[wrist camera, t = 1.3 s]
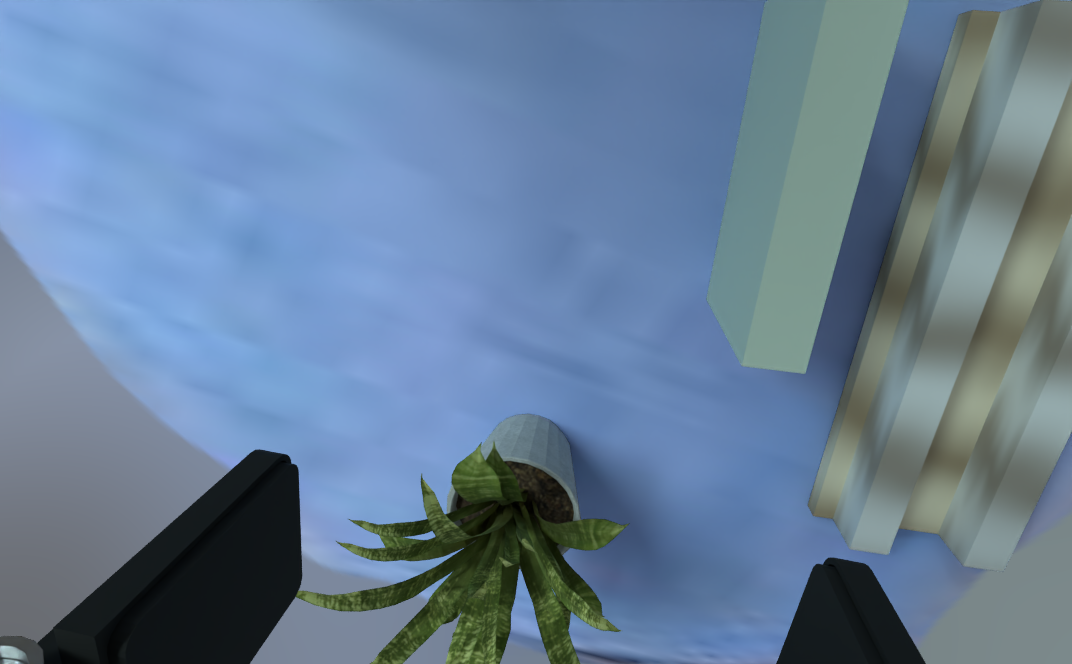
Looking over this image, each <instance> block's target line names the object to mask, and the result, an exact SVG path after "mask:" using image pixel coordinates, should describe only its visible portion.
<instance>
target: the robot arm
mask: <svg viewBox="0 0 1072 664" xmlns="http://www.w3.org/2000/svg"><path fill="white" fill-rule="evenodd" d="M301 580H302V556H301V527H300V499H299V472H298V467H297V465H295V464H291V459H290V457H289V456H288V455H286V454H281V453H275V452H270V451H265V450H254V451H253V452H251V453H250V454H249V455H248V456H247V457H245V458H244V459H243V460H242V461H241V462H240V463H239V464H237V465H236V466H235V467H234V468H233V469H232V470H231V471H230V472H228V473H227V474H226V475H225V476H224V477H223V478H222V479H221V480H219V481H218V482H217V483H216V484H215V485H214V486H213V487H212V488H210V489H209V490H208V491H207V492H206V493H205V494H204V495H203V496H201V497H200V498H199V499H198V500H197V501H196V502H195V503H193V504H192V505H191V506H190V507H189V508H188V509H187V510H186V511H184V512H183V513H182V514H181V515H180V516H179V517H178V518H176V519H175V520H174V521H173V522H172V523H171V524H170V525H169V526H168V527H166V528H165V529H164V530H163V531H162V532H161V533H160V534H158V535H157V536H156V537H155V538H154V539H153V540H152V541H151V542H150V543H148V544H147V545H146V546H145V547H144V548H143V549H142V550H140V551H139V552H138V553H137V554H136V555H135V556H134V557H132V558H131V559H130V560H129V561H128V562H127V563H126V564H124V565H123V566H122V567H121V568H120V569H119V570H118V571H117V572H115V573H114V574H113V575H112V576H111V577H110V578H109V579H108V580H107V581H106V582H104V583H103V584H102V585H101V586H100V587H99V588H97V589H96V590H95V591H94V592H93V593H92V594H91V595H90V596H88V597H87V598H86V599H85V600H84V601H83V602H82V603H80V605H78V606H77V607H76V608H75V609H74V610H73V611H71V612H70V613H69V614H68V615H67V616H66V617H65V618H63V619H62V620H61V621H60V622H59V623H58V624H57V625H56V626H55V627H53V629H52V630H51V631H50V632H49V633H48V634H47V635H46V636H45V637H44V638H42V639H41V640H40V641H39V642H38V643H36V641H34V640H31V639H28V638H25V637H22V636H1V637H0V664H250V662H251V661H252V659H253V658H254V656H255V655H256V654H257V652H258V651H259V649H260V648H261V646H262V645H263V643H264V642H265V640H266V639H267V638H268V636H269V634H270V633H271V632H272V630H273V629H274V627H275V626H276V624H277V623H278V621H279V620H280V618H281V617H282V616H283V614H284V613H285V611H286V610H287V608H288V607H289V605H290V604H291V602H292V601H293V600H294V598H295V596H296V595H297V593H298V590H299V588H300V585H301ZM776 664H926V663H925V661H924V660H923V658H922V657H921V655H920V653H919V651H918V649H917V648H916V646H915V644H914V642H913V641H912V639H911V637H910V636H909V634H908V632H907V630H906V629H905V627H904V625H903V623H902V622H901V620H900V618H899V617H898V615H897V613H896V611H895V610H894V608H893V606H892V604H891V603H890V601H889V599H888V597H887V596H886V594H885V592H884V591H883V589H882V587H881V585H880V584H879V582H878V580H877V578H876V577H875V575H874V573H873V572H872V570H871V569H870V567H869V566H868V565H866V564H864V563H859V562H853V561H848V560H843V559H838V558H828V559H827V560H825V562H824V564H823V565H822V564H816V565H815V566H814V567H813V569H812V572H811V574H810V577H809V579H808V582H807V585H806V587H805V590H804V593H803V595H802V598H801V600H800V603H799V606H798V608H797V611H796V614H795V616H794V619H793V621H792V624H791V627H790V629H789V632H788V635H787V637H786V640H785V642H784V645H783V648H782V650H781V653H780V656H779V658H778V661H777V663H776Z"/></svg>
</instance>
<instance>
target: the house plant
mask: <svg viewBox="0 0 1072 664" xmlns="http://www.w3.org/2000/svg"><path fill="white" fill-rule="evenodd" d="M481 443H482V442H481ZM421 488H422V494H423V502H424V508H425V512H426V515H427V518H428V519H426V520H421V521H415V522H405V523H393V524H383V525H377V524H373V523H369V522H365V521H356V520H350V519H349V520H350V521H352V522H353V523H355V524H357V525H359V526H360V527H362V528H364V529H365V530H367V531H370V532H372V533H375V534H378V535H379V536H380V538H381V540H382V542H383V543H384V545H385V547H386V548H378V549H367V548H363V547H359V546H356V545H353V544H348V543H339V542H337V541H336V542H337V543H338V544H340V545H341V546H343V547H344V548H346V549H348V550H349V551H351V552H352V553H354V554H356V555H359V556H361V557H364V558H367V559H370V560H376V561H398V560H405V561H421V560H430V559H434V558H439V557H443V556H446V555H448V554H451V553H453V552H455V551H458V550H460V549H462V548H464V549H462V550H461V551H459V552H458V553H456V554H455V555H453V556H452V557H450V558H449V559H447V560H446V561H444V562H443V563H441V564H439V565H438V566H436V567H434V568H432V569H430V570H428V571H426V572H424V573H422V574H420V575H418V576H415V577H413V578H411V579H408V580H406V581H403V582H400V583H397V584H394V585H391V586H387V587H382V588H376V589H370V590H363V591H358V592H353V593H348V594H339V595H325V594H319V593H313V592H308V591H298V593H297V595H296V596H295V597H297V598H299V599H302V600H304V601H306V602H309V603H311V604H313V605H317V606H320V607H324V608H328V609H333V610H338V611H359V612H360V611H367V610H374V609H381V608H385V607H389V606H392V605H396V604H398V603H401V602H403V601H405V600H408V599H410V598H413V597H414V596H416V595H417V594H419V593H420V592H422V591H423V590H425V589H426V588H428V587H429V586H431V585H432V584H434V583H435V582H437V581H438V580H440V579H442V578H443V577H445V576H446V575H448V574H450V573H451V572H452V573H451V575H450V576H449V577H448V578H447V579H446V580H445V581H444V582H443V583H442V584H441V585H440V586H439V587H438V589H437V590H436V591H435V592H434V593H433V594H432V596H431V597H430V599H429V601H428V603H427V605H425V607H424V608H423V609H422V610H421V611H420V612H419V613H418V614H417V615H416V616H415V617H414V618H413V619H412V620H411V621H410V622H409V623H408V624H407V625H406V626H405V627H404V628H403V629H402V630H401V631H400V632H399V633H398V634H397V635H396V636H395V637H394V638H393V639H392V641H390V643H388V645H387V646H386V647H385V648H384V649H383V650H382V651H381V652H380V653H379V654H378V656H377V657H376V659H375V660H374V661H373V662H372V663H370V664H403V663H404V662H405V660H407V659H408V657H410V656H411V655H412V653H414V652H415V651H416V650H417V649H418V648H419V647H420V646H421V645H422V644H423V643H424V642H425V641H426V640H427V639H428V638H429V637H430V636H431V635H432V634H433V633H434V632H435V631H436V630H437V629H438V628H439V627H440V626H441V625H442V624H446V623H449V622H452V621H453V620H454V619H456V618H457V617H458V616H459V614H460V613H461V611H462V613H461V615H460V618H459V621H458V624H457V627H456V630H455V632H454V633H453V636H452V637H453V639H452V642H451V645H450V648H449V652H448V656H447V660H446V664H500V661H501V659H502V655H503V653H504V650H505V647H506V644H507V640H508V637H509V634H510V630H511V611H512V607H513V604H514V600H515V595H516V587H517V580H518V572H519V569H521V571H522V574H523V577H524V580H525V583H526V586H527V589H528V592H529V594H530V597H531V599H532V602H533V606H534V610H535V615H536V619H537V623H538V627H539V630H540V634H541V637H542V641H543V644H544V646H545V649H546V652H547V655H548V658H549V661H550V663H551V664H580V662H579V660H578V657H577V655H576V652H575V650H574V647H573V645H572V642H571V638H570V635H569V632H568V629H569V625H570V615H571V612H572V613H574V614H575V615H576V616H577V617H579V618H580V619H581V620H583V621H584V622H586V623H587V624H589V625H590V626H592V627H594V628H597V629H600V630H603V631H614V632H619V631H622V630H618V629H617V628H616V627H615V626H613V625H612V624H611V623H610V622H609V621H608V620H606V619H604V618H602V617H604V616H603V615H602V607H601V603H600V601H599V599H598V597H597V596H596V594H595V593H594V592H593V590H592V589H591V588H590V587H589V586H588V584H587V583H586V582H585V581H584V580H583V579H582V578H581V577H580V576H579V575H578V574H577V573H576V572H575V571H574V570H573V569H572V568H571V567H570V566H569V564H568V563H567V562H566V561H565V560H564V558H563V556H562V555H563V554H564V553H565V552H566V551H567V550H569V549H570V548H574V549H579V550H597V549H599V548H601V547H604V546H605V545H607V544H608V543H609V542H610V541H612V540H613V539H614V538H615V537H616V536H617V535H618V534H619V533H620V532H621V531H622V530H623V529H624V528H625V527H626V526H627V525H629V524H630V523H629V524H625V525H620V524H617V523H614V522H612V521H609V520H606V519H583V520H581V517H580V510H579V504H578V497H577V491H576V484H575V478H574V471H573V465H572V458H571V451H570V445H569V442H568V440H567V439H566V437H565V436H564V434H563V433H562V432H561V431H560V429H559V428H558V427H557V426H556V425H555V424H553V423H552V422H551V421H550V420H548V419H546V418H543V417H541V416H538V415H531V414H522V415H515V416H512V417H509V418H507V419H505V420H504V421H502V422H501V423H499V424H498V426H497V427H496V428H495V429H494V430H493V432H492V433H491V434H490V436H489V437H488V438H487V439H486V441H485V442H484V443H483V445H482V446H481V444H480V445H479V446H478V448H477V449H476V450H475V451H474V452H473V453H472V454H470V455H469V456H468V457H466V458H465V459H464V460H462V461H461V462H460V463H459V464H457V466H456V468H455V470H454V472H453V474H452V486H451V489H450V491H449V494H448V498H447V513H448V514H444V513H443V511H442V509H441V507H440V504H439V502H438V500H437V498H436V496H435V493H434V492H433V491H432V490H431V488H430V487H429V486H428V485H427V484H426V482H425V481H424V480H423V478H422V474H421ZM430 531H433V532H434V534H435V536H436V537H435V538H432V539H429V540H416V539H409V538H404V537H407V536H416V535H421V534H425V533H428V532H430ZM552 589H553V590H552ZM553 591H554V592H555V594H556V596H555V594H554V592H553Z"/></svg>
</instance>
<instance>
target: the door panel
mask: <svg viewBox="0 0 1072 664" xmlns="http://www.w3.org/2000/svg"><path fill="white" fill-rule="evenodd" d="M908 2H909V0H767V1H766V2H765V4H764V9H763V14H762V19H761V24H760V29H759V34H758V40H757V45H756V50H755V55H754V60H753V65H752V70H751V75H750V80H749V85H748V90H747V95H746V100H745V105H744V111H743V116H742V121H741V126H740V131H739V136H738V141H737V146H736V151H735V156H734V161H733V166H732V171H731V176H730V181H729V187H728V192H727V197H726V202H725V207H724V212H723V217H722V222H721V227H720V232H719V237H718V242H717V247H716V252H715V258H714V263H713V268H712V273H711V278H710V283H709V288H708V293H707V298H706V300H707V302H708V304H709V305H710V307H711V309H712V311H713V313H714V315H715V317H716V319H717V320H718V322H719V324H720V326H721V328H722V330H723V332H724V334H725V336H726V337H727V339H728V341H729V343H730V345H731V347H732V349H733V351H734V352H735V354H736V356H737V358H738V360H739V362H740V364H741V366H745V367H753V368H761V369H769V370H778V371H786V372H794V373H802V374H805V373H806V370H807V366H808V362H809V359H810V355H811V352H812V348H813V344H814V341H815V337H816V333H817V330H818V326H819V323H820V319H821V315H822V312H823V308H824V305H825V301H826V297H827V294H828V290H829V287H830V283H831V279H832V276H833V272H834V269H835V265H836V261H837V258H838V254H839V251H840V247H841V243H842V240H843V236H844V233H845V229H846V225H847V222H848V218H849V215H850V211H851V207H852V204H853V200H854V197H855V193H856V189H857V186H858V182H859V179H860V175H861V171H862V168H863V164H864V161H865V157H866V153H867V150H868V146H869V143H870V139H871V135H872V132H873V128H874V125H875V121H876V117H877V114H878V110H879V107H880V103H881V99H882V96H883V92H884V89H885V85H886V81H887V78H888V74H889V71H890V67H891V63H892V60H893V56H894V53H895V49H896V45H897V42H898V38H899V35H900V31H901V27H902V24H903V20H904V17H905V13H906V9H907V6H908Z"/></svg>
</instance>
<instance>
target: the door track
mask: <svg viewBox="0 0 1072 664" xmlns="http://www.w3.org/2000/svg"><path fill="white" fill-rule="evenodd" d="M1071 432H1072V1H1060V0H1040V1H1037V2H1033V3H1030V4H1026V5H1023V6H1020V7H1016V8H1013V9H1009V10H1006V11H1002V12H994V11H977V10H972V11H969V12H965V13H962V14H959V16H958V19H957V22H956V26H955V29H954V32H953V35H952V38H951V42H950V45H949V48H948V51H947V55H946V58H945V61H944V64H943V68H942V71H941V74H940V77H939V81H938V84H937V87H936V90H935V94H934V97H933V100H932V103H931V107H930V110H929V113H928V116H927V120H926V123H925V126H924V129H923V133H922V136H921V139H920V142H919V146H918V149H917V152H916V155H915V159H914V162H913V165H912V168H911V172H910V175H909V178H908V181H907V184H906V188H905V191H904V194H903V197H902V201H901V204H900V207H899V210H898V214H897V217H896V220H895V223H894V227H893V230H892V233H891V236H890V240H889V243H888V246H887V249H886V253H885V256H884V259H883V262H882V266H881V269H880V272H879V275H878V279H877V282H876V285H875V288H874V292H873V295H872V298H871V301H870V305H869V308H868V311H867V314H866V318H865V321H864V324H863V327H862V330H861V334H860V337H859V340H858V343H857V347H856V350H855V353H854V356H853V360H852V363H851V366H850V369H849V373H848V376H847V379H846V382H845V386H844V389H843V392H842V395H841V399H840V402H839V405H838V408H837V412H836V415H835V418H834V421H833V425H832V428H831V431H830V434H829V438H828V441H827V444H826V447H825V451H824V454H823V457H822V460H821V464H820V467H819V470H818V473H817V476H816V480H815V483H814V486H813V489H812V493H811V496H810V499H809V502H808V507H809V509H810V511H811V513H812V515H813V516H817V517H824V518H831V519H833V520H834V522H835V524H836V526H837V527H838V529H839V531H840V533H841V535H842V536H843V538H844V540H845V542H846V544H847V545H848V547H849V549H852V550H858V551H865V552H872V553H878V554H885V555H888V554H889V552H890V549H891V547H892V544H893V541H894V539H895V536H896V534H897V531H898V529H906V530H913V531H920V532H927V533H934V534H938V535H939V536H940V537H941V539H942V540H943V541H944V543H945V544H946V545H947V546H948V548H949V549H950V550H951V551H952V553H953V554H954V555H955V556H956V558H957V559H958V560H959V562H960V563H961V564H962V565H963V566H965V567H972V568H979V569H985V570H992V571H999V572H1004V570H1005V567H1006V566H1007V564H1008V562H1009V560H1010V557H1011V555H1012V553H1013V551H1014V549H1015V547H1016V545H1017V543H1018V541H1019V539H1020V537H1021V535H1022V533H1023V531H1024V529H1025V527H1026V525H1027V523H1028V521H1029V518H1030V516H1031V514H1032V512H1033V510H1034V508H1035V506H1036V504H1037V502H1038V500H1039V498H1040V496H1041V494H1042V492H1043V490H1044V488H1045V486H1046V484H1047V481H1048V479H1049V477H1050V475H1051V473H1052V471H1053V469H1054V467H1055V465H1056V463H1057V461H1058V459H1059V457H1060V455H1061V453H1062V451H1063V449H1064V447H1065V445H1066V442H1067V440H1068V438H1069V436H1070V434H1071Z"/></svg>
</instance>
